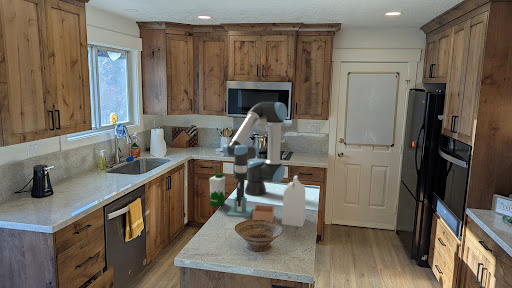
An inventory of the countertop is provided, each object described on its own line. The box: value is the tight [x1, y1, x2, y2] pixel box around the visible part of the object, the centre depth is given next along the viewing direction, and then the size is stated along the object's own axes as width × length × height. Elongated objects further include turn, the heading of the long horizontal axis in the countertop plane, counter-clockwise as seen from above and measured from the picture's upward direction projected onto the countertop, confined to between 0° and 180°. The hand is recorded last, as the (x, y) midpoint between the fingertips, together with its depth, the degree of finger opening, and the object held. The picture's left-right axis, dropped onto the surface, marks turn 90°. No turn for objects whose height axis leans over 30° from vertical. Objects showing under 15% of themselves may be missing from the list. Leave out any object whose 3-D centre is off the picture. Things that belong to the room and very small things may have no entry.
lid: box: [227, 196, 254, 217], centre depth 209 cm, size 13×13×9 cm
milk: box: [281, 175, 306, 228], centre depth 196 cm, size 12×12×26 cm
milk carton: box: [208, 172, 226, 208], centre depth 221 cm, size 9×9×20 cm
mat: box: [224, 206, 254, 219], centre depth 209 cm, size 16×16×1 cm
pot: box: [252, 204, 275, 223], centre depth 199 cm, size 11×11×7 cm
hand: (240, 209), depth 209 cm, fingers open, 4 cm apart
